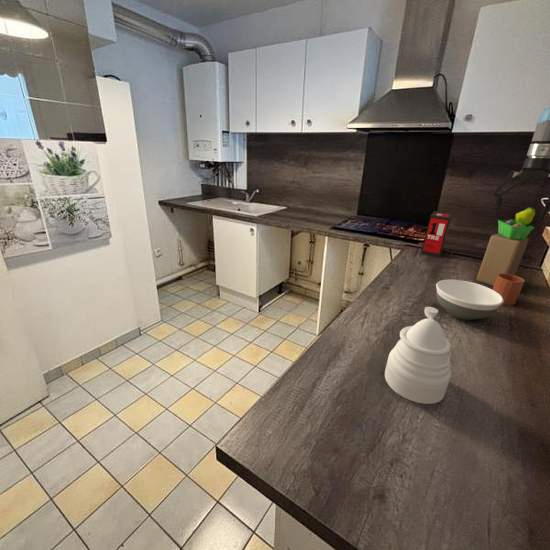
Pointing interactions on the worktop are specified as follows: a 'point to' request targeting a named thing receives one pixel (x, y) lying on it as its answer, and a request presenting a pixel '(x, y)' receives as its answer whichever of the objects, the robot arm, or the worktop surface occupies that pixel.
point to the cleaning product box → (436, 233)
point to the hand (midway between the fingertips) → (517, 217)
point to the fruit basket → (517, 225)
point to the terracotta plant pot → (508, 287)
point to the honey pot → (420, 362)
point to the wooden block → (501, 257)
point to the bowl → (467, 299)
